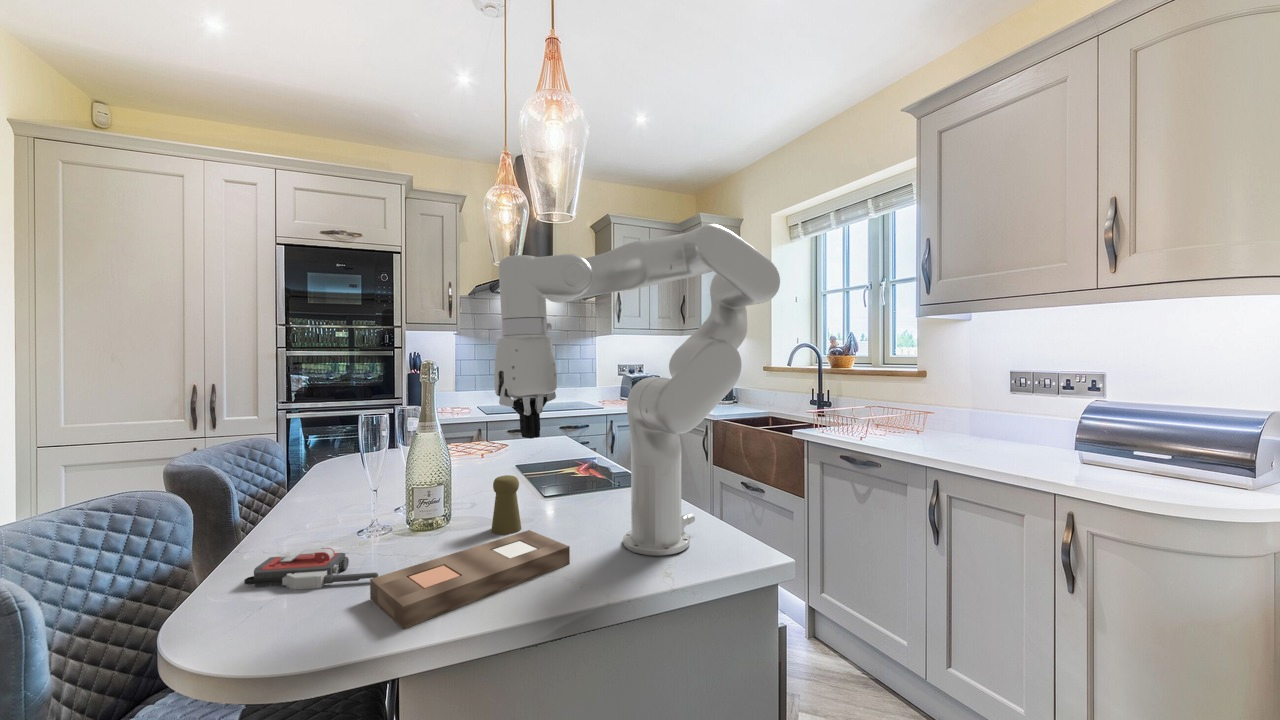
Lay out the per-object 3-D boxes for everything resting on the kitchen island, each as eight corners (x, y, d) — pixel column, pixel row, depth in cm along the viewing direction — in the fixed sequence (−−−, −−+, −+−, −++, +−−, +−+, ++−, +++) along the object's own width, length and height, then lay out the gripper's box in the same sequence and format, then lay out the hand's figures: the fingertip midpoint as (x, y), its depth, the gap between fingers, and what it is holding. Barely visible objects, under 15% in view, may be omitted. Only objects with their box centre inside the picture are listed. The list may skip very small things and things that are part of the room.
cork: (484, 531, 103) (484, 477, 103) (505, 522, 109) (505, 471, 109) (507, 536, 101) (506, 481, 100) (527, 527, 106) (527, 474, 106)
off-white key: (519, 554, 90) (519, 540, 90) (537, 562, 87) (537, 548, 87) (492, 563, 86) (492, 549, 86) (510, 573, 83) (509, 558, 83)
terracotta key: (443, 580, 80) (443, 565, 80) (460, 591, 76) (460, 575, 76) (409, 592, 76) (408, 576, 76) (424, 604, 72) (424, 587, 72)
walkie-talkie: (234, 597, 77) (375, 587, 80) (234, 568, 77) (375, 559, 80) (267, 572, 86) (393, 564, 89) (266, 546, 86) (393, 539, 89)
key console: (529, 545, 96) (529, 530, 96) (569, 563, 88) (569, 546, 87) (370, 599, 75) (370, 579, 75) (403, 629, 67) (403, 606, 67)
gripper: (547, 330, 94) (552, 428, 95) (473, 331, 83) (479, 442, 84) (573, 328, 89) (578, 432, 90) (497, 329, 78) (504, 447, 79)
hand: (530, 436), depth 87 cm, fingers closed
